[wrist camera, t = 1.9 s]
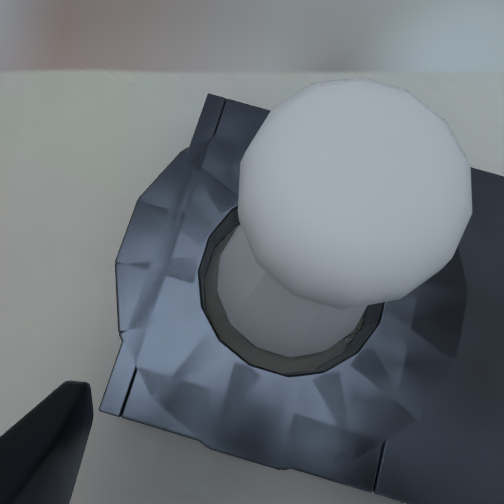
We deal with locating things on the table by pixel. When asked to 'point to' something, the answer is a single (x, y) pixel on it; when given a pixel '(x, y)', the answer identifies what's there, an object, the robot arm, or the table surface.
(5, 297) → the table surface
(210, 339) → the plate
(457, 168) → the white rounded peg
